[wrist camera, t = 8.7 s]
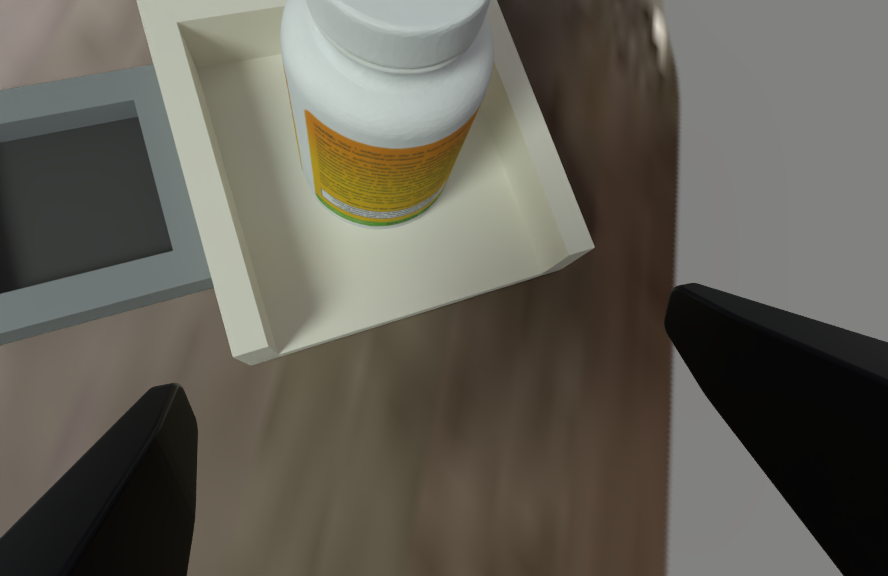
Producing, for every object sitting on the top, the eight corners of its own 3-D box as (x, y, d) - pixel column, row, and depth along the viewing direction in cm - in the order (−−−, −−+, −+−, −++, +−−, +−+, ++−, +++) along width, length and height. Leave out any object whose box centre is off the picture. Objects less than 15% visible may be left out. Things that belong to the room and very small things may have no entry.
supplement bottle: (471, 197, 20) (581, 13, 11) (343, 257, 19) (343, 105, 9) (404, 80, 21) (453, -189, 11) (275, 130, 19) (211, -131, 10)
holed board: (227, 283, 18) (220, 275, 17) (-35, 354, 16) (-63, 350, 15) (173, 83, 20) (162, 62, 18) (-77, 127, 18) (-107, 108, 17)
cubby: (560, 270, 21) (594, 247, 18) (251, 365, 18) (232, 356, 15) (461, 11, 23) (478, -48, 20) (166, 60, 20) (136, 0, 17)
